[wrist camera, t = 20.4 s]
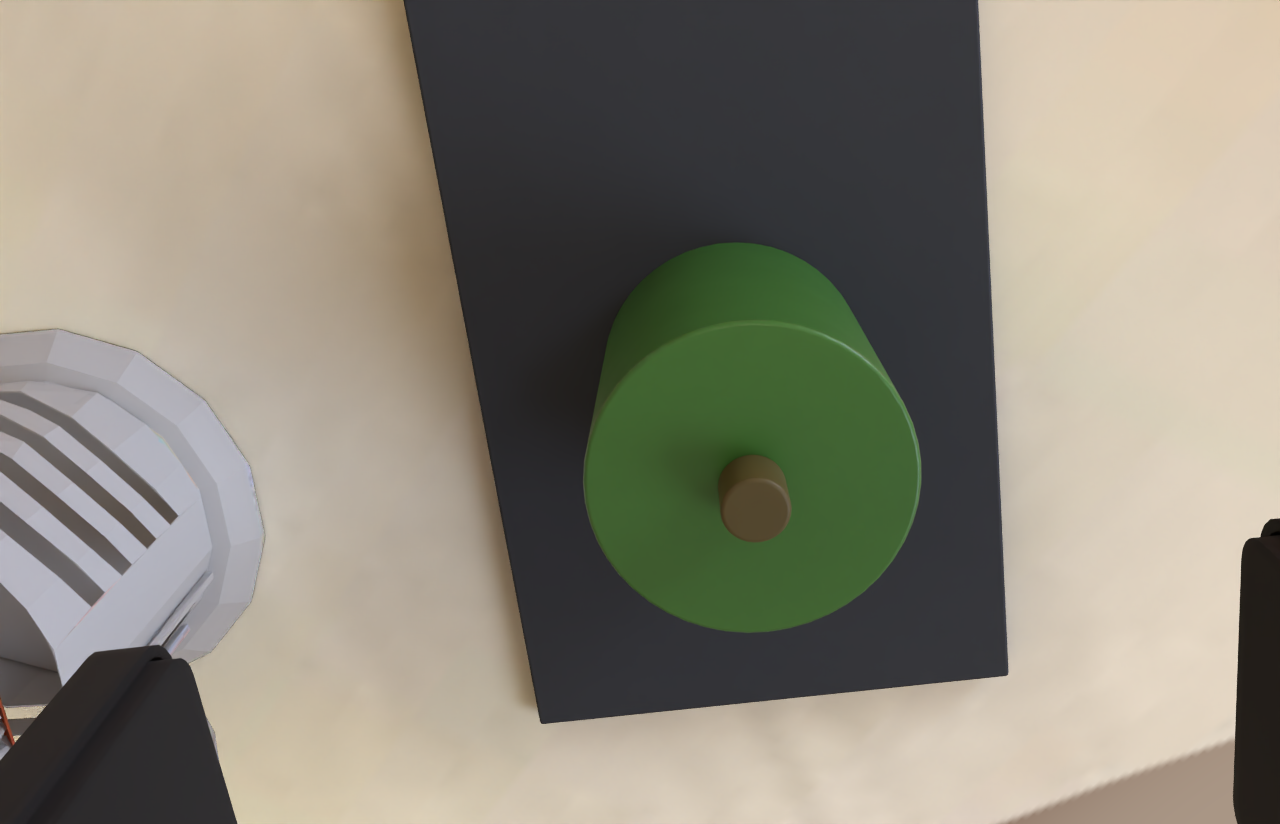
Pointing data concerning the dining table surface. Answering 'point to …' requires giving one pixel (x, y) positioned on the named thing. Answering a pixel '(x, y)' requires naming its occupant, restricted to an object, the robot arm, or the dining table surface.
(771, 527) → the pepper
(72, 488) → the french press
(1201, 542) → the dining table surface
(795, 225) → the mat
